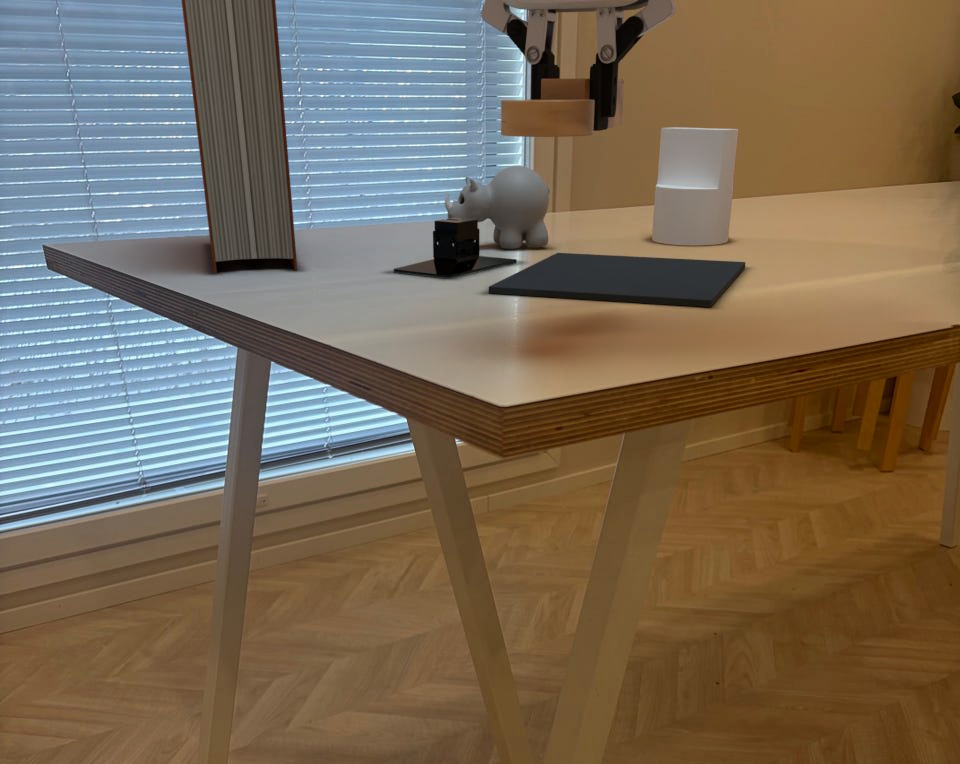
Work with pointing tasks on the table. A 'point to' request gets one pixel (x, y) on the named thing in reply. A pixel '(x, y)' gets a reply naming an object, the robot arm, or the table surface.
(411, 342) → the table surface
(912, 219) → the table surface
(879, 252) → the table surface
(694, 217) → the cylinder with rectangular tab
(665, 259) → the mat
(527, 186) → the round bodied animal figurine
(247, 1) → the book
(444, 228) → the black block on plate
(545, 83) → the wooden disc with bar
